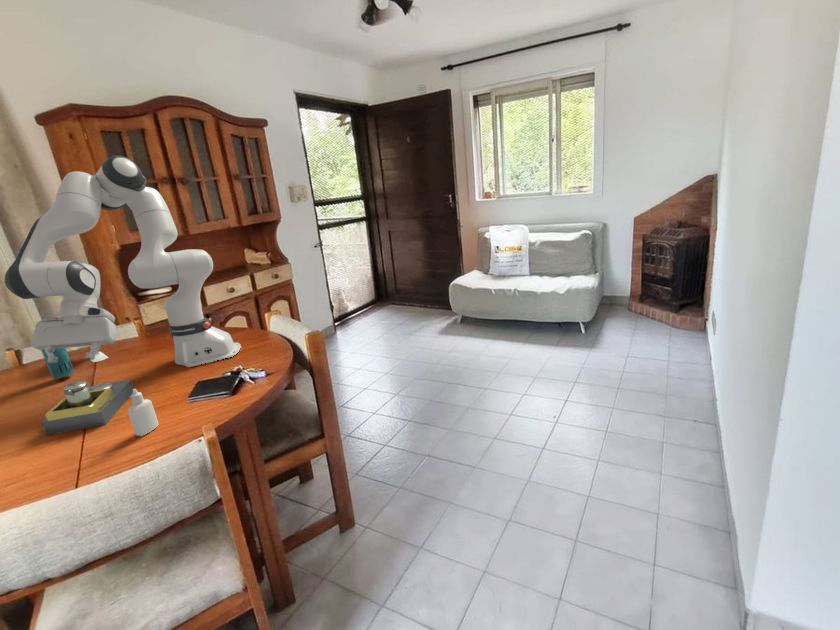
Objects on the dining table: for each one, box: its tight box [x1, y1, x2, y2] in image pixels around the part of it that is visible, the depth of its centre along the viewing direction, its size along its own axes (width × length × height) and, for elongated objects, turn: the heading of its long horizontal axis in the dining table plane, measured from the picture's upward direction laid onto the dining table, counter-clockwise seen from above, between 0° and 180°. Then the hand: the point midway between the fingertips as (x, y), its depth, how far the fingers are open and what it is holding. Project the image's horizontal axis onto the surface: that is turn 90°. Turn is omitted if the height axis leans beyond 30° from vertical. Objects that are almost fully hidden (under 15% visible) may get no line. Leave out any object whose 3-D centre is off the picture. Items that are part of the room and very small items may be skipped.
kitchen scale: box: [41, 379, 135, 436], centre depth 121 cm, size 20×14×6 cm
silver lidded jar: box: [63, 380, 93, 408], centre depth 115 cm, size 5×7×9 cm
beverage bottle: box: [40, 348, 75, 379], centre depth 144 cm, size 6×7×20 cm
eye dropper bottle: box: [128, 388, 159, 437], centre depth 108 cm, size 4×6×12 cm
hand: (71, 360), depth 120 cm, fingers open, 8 cm apart
